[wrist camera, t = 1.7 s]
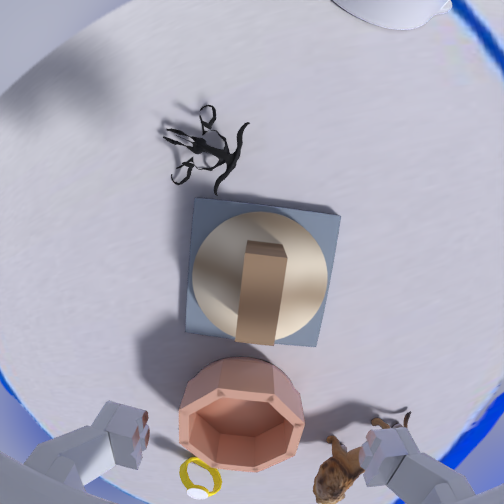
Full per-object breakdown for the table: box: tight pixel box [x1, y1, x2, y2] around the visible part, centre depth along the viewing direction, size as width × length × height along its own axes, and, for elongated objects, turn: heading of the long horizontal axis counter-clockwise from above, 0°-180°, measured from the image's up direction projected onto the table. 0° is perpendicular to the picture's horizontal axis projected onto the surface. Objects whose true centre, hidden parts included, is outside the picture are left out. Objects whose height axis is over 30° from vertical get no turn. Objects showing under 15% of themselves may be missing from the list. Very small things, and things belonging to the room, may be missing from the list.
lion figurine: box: [313, 411, 411, 504], centre depth 30 cm, size 15×5×9 cm, turn 120°
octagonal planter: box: [179, 357, 305, 472], centre depth 30 cm, size 12×12×6 cm
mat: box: [185, 197, 341, 347], centre depth 29 cm, size 13×13×1 cm
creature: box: [163, 105, 250, 196], centre depth 25 cm, size 8×5×8 cm
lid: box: [192, 211, 327, 346], centre depth 26 cm, size 12×12×6 cm
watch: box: [179, 457, 222, 499], centre depth 33 cm, size 6×3×6 cm, turn 48°
